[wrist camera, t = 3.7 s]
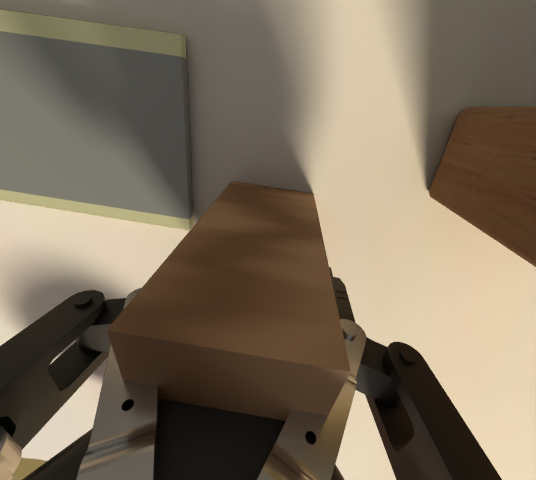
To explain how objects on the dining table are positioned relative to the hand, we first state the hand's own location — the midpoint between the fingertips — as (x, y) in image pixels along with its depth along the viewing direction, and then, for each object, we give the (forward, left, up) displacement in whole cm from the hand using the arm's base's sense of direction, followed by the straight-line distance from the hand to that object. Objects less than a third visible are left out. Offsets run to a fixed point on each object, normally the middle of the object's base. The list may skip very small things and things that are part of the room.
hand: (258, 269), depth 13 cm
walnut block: (0, 0, -4) cm, 4 cm away
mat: (+12, -5, -4) cm, 13 cm away
